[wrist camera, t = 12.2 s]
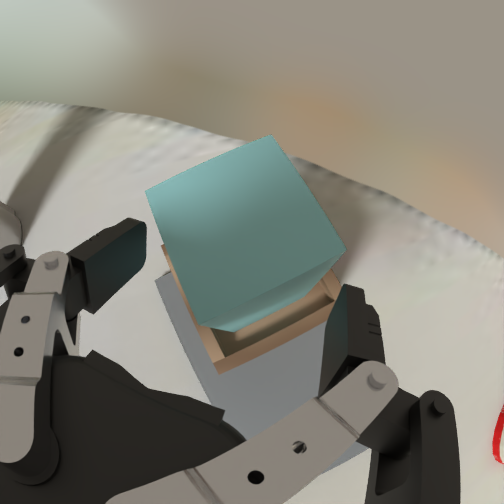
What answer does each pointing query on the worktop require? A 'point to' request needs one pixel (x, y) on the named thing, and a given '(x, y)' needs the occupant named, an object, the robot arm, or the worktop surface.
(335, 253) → the teal brick
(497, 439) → the kitchen timer
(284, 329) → the wooden crate
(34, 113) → the worktop surface
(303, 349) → the baseplate
